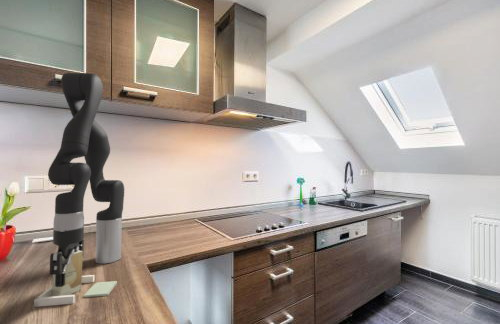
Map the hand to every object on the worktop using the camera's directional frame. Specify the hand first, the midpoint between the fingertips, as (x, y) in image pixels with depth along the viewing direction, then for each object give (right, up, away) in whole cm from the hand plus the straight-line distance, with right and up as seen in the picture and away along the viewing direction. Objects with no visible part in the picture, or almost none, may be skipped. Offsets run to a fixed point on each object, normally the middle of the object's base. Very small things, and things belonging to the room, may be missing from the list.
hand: (67, 279), depth 73 cm
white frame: (0, -4, 0) cm, 4 cm away
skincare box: (0, -4, 0) cm, 4 cm away
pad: (+9, -4, +2) cm, 10 cm away
